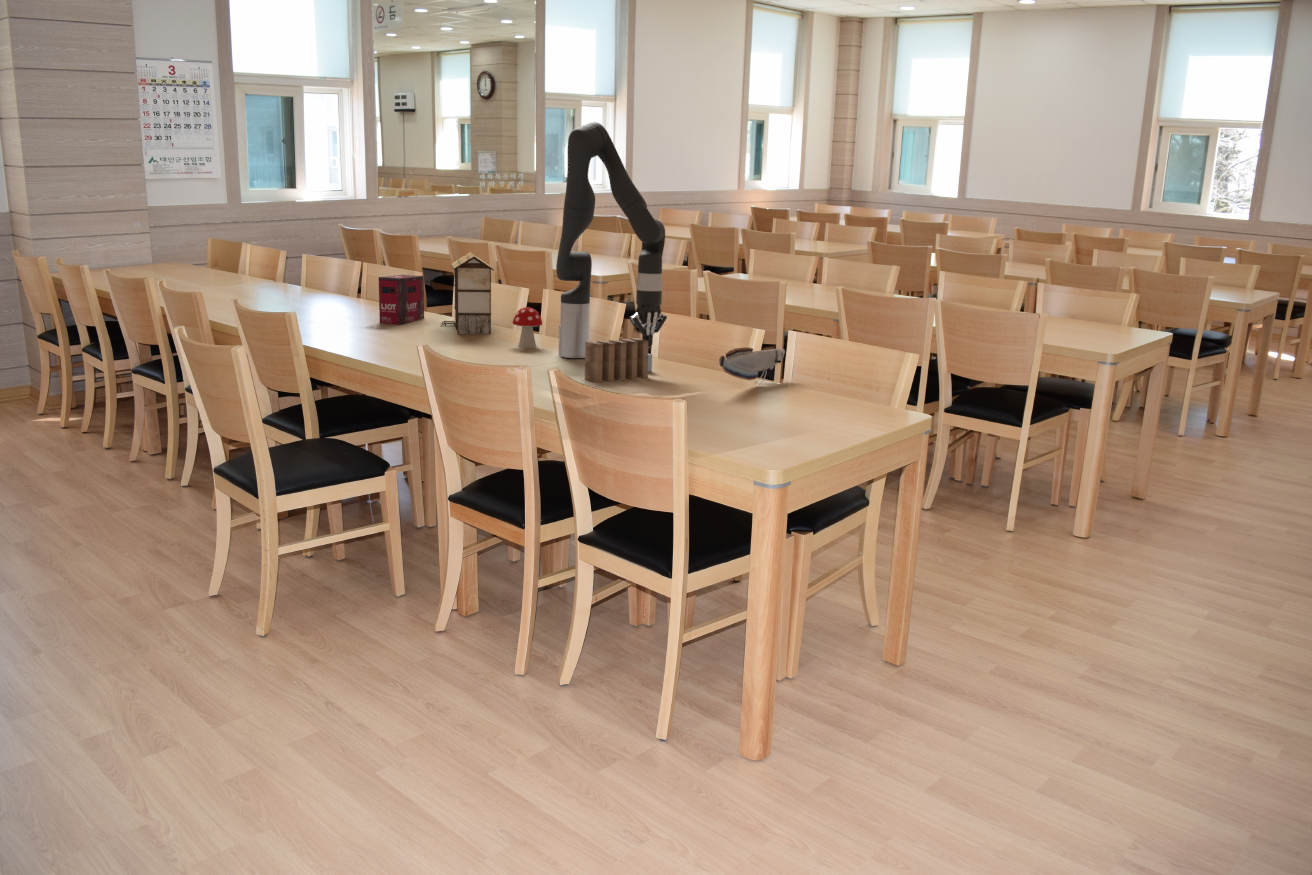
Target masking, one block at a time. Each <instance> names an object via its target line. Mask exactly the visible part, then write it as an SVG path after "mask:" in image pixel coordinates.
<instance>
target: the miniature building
mask: <svg viewBox="0 0 1312 875" xmlns="http://www.w3.org/2000/svg"><path fill="white" fill-rule="evenodd" d="M450 266H451V268H452V269H453V270H454V272H453V274H454V277H453V278H454V280H453V281H454V284H453V287H454V305H453V306H454V307H453V308H454V320H444V321H442V322H441V323H440V327H447V325H453V326H454V327H455V330H456V333H457V335H478V334H479V335H482V334H483V335H484V334H485V335H486V334H487V335H488V334H489V335H490V334H492V271H493V272H494V271H495V269H494V268H493V267H492V266H491V265H490V264H488V262H485V261H484V260H483V259H481V258H480V257H478V256H476V255H475V254H473V253H472V252H468V253H467V254H465V255H463V256H462V257H460V258H458V259H457V260H455V261H454V262H452V263H450Z"/></svg>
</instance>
